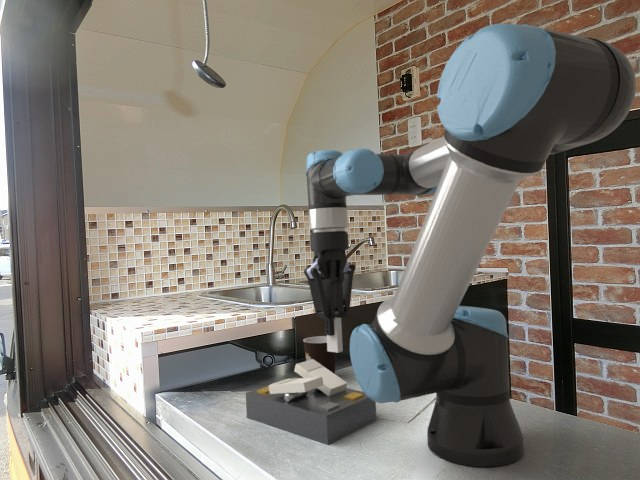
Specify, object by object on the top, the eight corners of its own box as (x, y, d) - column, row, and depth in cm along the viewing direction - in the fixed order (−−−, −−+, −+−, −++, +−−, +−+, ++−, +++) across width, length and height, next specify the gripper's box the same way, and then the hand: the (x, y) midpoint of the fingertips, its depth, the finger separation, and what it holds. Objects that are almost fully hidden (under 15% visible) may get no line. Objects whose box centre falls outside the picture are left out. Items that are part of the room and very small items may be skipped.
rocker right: (345, 389, 99) (347, 382, 99) (328, 396, 95) (330, 388, 95) (311, 365, 105) (312, 358, 105) (294, 371, 102) (295, 363, 101)
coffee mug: (339, 383, 121) (337, 342, 121) (304, 384, 121) (302, 343, 121) (338, 370, 133) (336, 333, 133) (306, 371, 133) (304, 334, 133)
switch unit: (376, 420, 95) (374, 386, 95) (327, 444, 85) (326, 407, 85) (296, 399, 110) (295, 369, 110) (246, 417, 100) (245, 385, 100)
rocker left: (323, 385, 94) (321, 375, 94) (305, 392, 90) (303, 382, 90) (288, 387, 100) (286, 378, 100) (269, 393, 97) (268, 384, 97)
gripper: (336, 231, 105) (342, 343, 104) (291, 232, 95) (298, 355, 95) (364, 229, 100) (370, 347, 99) (320, 230, 90) (327, 360, 90)
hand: (335, 351), depth 97 cm, fingers closed
